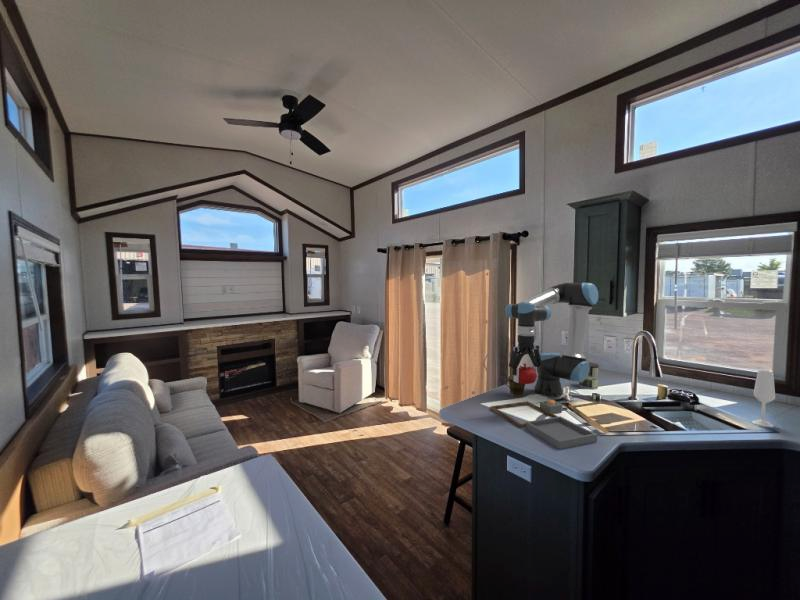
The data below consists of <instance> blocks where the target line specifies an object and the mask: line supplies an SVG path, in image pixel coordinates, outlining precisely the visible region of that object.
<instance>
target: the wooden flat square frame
mask: <svg viewBox="0 0 800 600" xmlns="http://www.w3.org/2000/svg"><path fill="white" fill-rule="evenodd" d="M522 406H528V407H530V408H532V409H534V410H537V411H539V412H540V413H543V414H544V415H546V416H548V417H549V418H553V417H559V416H558V415H556V414H552V413H550V412H548V411H546V410H544V409H542V408H540V406H538V405H536V404H534V403H532V402H530V401H527V400H526V401H519V402H514V403H512V402H511V403H507V404H506V403H505V404H499V405H498V404H497V405H491V406H489V410H490V411H492V412H493V413H495V414H496V415H499V416H500V417H502V418H503V419H505V420H507V421H508V422H510V423H511V424H513V425H514V426H516V427H518V428H519V429H526V422H523V423H521V422H519V421H517V420H516V419H514V418H512V417H510V416H509V415H507V414H506V413H504V412H502V411H501V409H508V408H515V407H522Z"/></svg>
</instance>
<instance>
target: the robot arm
mask: <svg viewBox="0 0 800 600" xmlns="http://www.w3.org/2000/svg"><path fill="white" fill-rule="evenodd" d="M598 301H599V290H598V288H597V286H596V285H595V284H594V283H591V282H564V283H558V284H556V285H552V286H551V287H548V288H546V289H545V290H544V292H541V293H539V294H537V295H534V296H532V297H530V298H528V299H525V300H523V301H521V302H518V303H516V304H515V303H510V304H509V303H508V304H507V305H506V307H505V310H504V312H505V316H506V317H507V318H509V319H515V320H517V334H518V335H517V343H518V344H517V346H511V348H512V349H511V350H512V351H511V356H510V359H509V364H508V367H509V368H512V376H513V375H514V382H517V383H519V369H518V368H519V366H520V363H521V362H522V359H523V358H524V356H526V355H528V356H529V359H530V361H531V363H532V365H531V368H532V369H533V370H534V371H535V372H536V375H537V378H536V380H535V385H534V389H533V390H534V392H535V394H539V395H541V396H546V397H553V398H554V397H561V396H563V393H564V392H563V391H564V390H563V388H562V387H563V386H562V384H561V381H560V379H563V380H567V381H570V382H575V383H579V382H583V381H584V380H585V379H586V378H587V376H588V374H589V371H590V366H589V363H590V362H589V363H588V361H587V358H586V356H585V354H584V351H585V343H586V335H587V334H586V333H587V329H588V327H587V326H588V318H589V311H590V310H592V309H593V305H596V304H597V303H598ZM558 303H559V304H568V307H569V308H570V314H569V323H568V330H567V331H568V332H567V339H566V345H565V346H566V347H565V352H564V353H562V355H561V353H559V352H542V353H540V345H538V344H535V322H544V321H547V320H549V319H550V318H551V316H552V310H551V309H550V307H549V305H556V304H558Z"/></svg>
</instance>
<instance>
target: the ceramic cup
mask: <svg viewBox="0 0 800 600" xmlns="http://www.w3.org/2000/svg"><path fill="white" fill-rule="evenodd" d="M507 382H508V384H507ZM504 385H505V386H507V387H508V388H509V392H510V395H511V396H512V397H514V398H521V397H523V396H524V391H525V387H526V384H521V383H517V382H514V375H513V374H512V375H509V376H508V377H507V379H505V381H504Z"/></svg>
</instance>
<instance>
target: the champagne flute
mask: <svg viewBox="0 0 800 600" xmlns="http://www.w3.org/2000/svg"><path fill="white" fill-rule="evenodd" d="M756 373H757V374H756V378H755V383H754V389H753V394H752V395H753V396H754V397H755V399H756V400H757V401H758V402H760V403H761V409H760V410H761V411H760V412H761V413H760V415H761V416H760V419H756V420H751V423H753V424H754V425H757V426H761V427H766V428H768V427H769V428H773V427H774V425H773V424H771V422H768V421H766V407H767V406H766V404H769V403H771V402H772V401H774V400H775V399H776V391H775V390H776V389H775V377H774V375H775V374H774V372H772V371H769V370H761V369H760V370H757V372H756Z"/></svg>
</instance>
